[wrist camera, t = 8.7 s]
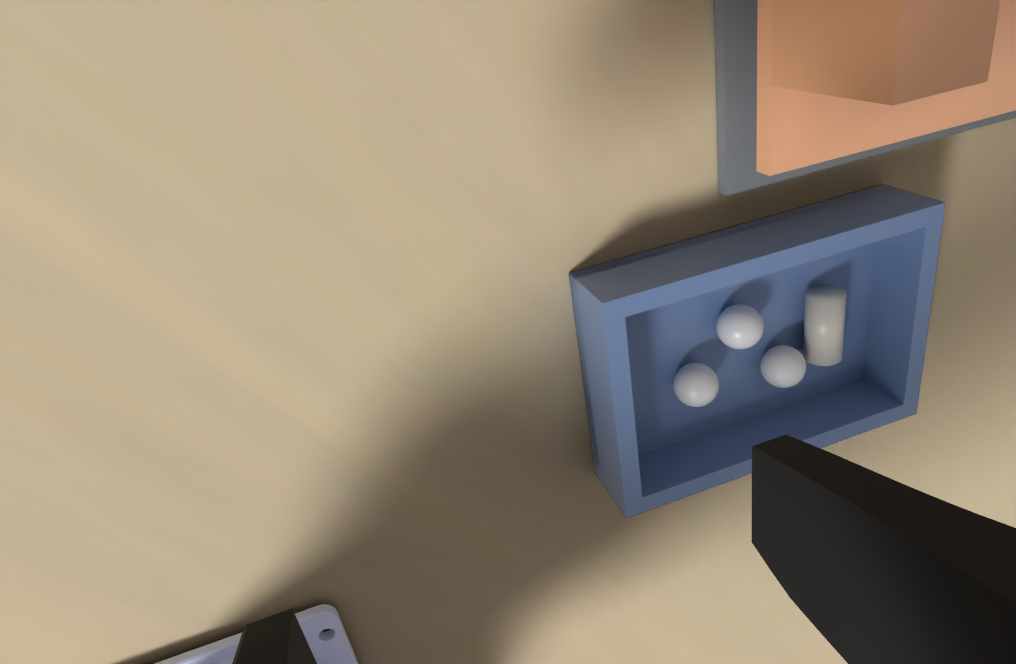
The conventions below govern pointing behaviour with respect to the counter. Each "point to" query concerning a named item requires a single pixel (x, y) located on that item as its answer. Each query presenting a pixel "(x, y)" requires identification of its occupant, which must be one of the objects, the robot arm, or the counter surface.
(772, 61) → the lid
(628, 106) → the counter surface
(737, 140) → the mat
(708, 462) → the blue box
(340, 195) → the counter surface
